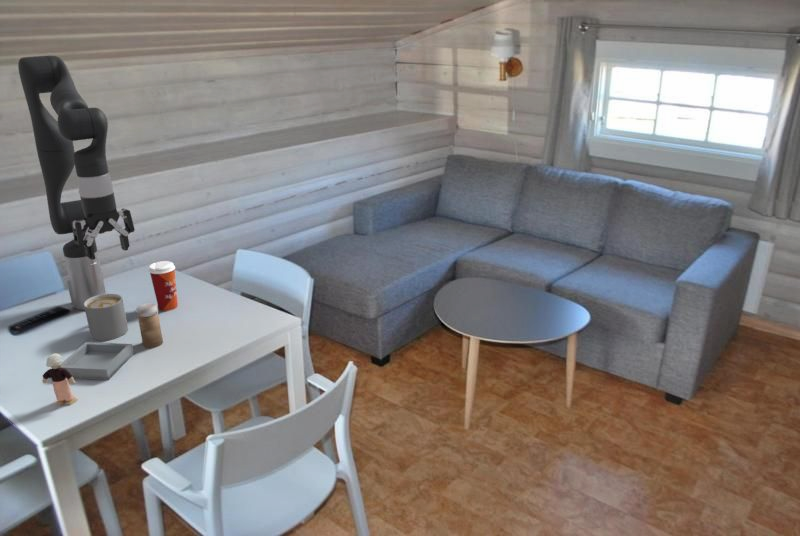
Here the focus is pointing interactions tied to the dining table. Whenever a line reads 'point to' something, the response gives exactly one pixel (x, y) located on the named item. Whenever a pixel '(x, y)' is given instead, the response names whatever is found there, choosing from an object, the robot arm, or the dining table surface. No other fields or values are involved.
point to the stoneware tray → (97, 360)
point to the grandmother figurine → (59, 380)
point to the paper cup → (164, 284)
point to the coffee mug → (106, 316)
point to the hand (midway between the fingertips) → (109, 254)
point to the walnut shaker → (149, 325)
